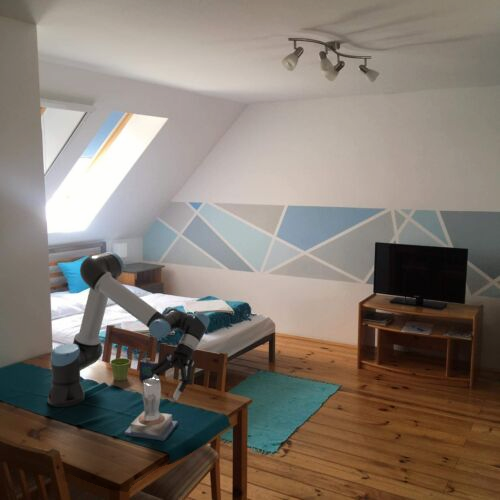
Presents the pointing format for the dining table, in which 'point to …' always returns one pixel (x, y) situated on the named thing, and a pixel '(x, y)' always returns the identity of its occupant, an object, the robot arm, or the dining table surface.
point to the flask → (146, 369)
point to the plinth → (151, 424)
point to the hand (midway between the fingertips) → (161, 394)
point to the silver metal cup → (151, 399)
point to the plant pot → (120, 368)
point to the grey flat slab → (150, 436)
